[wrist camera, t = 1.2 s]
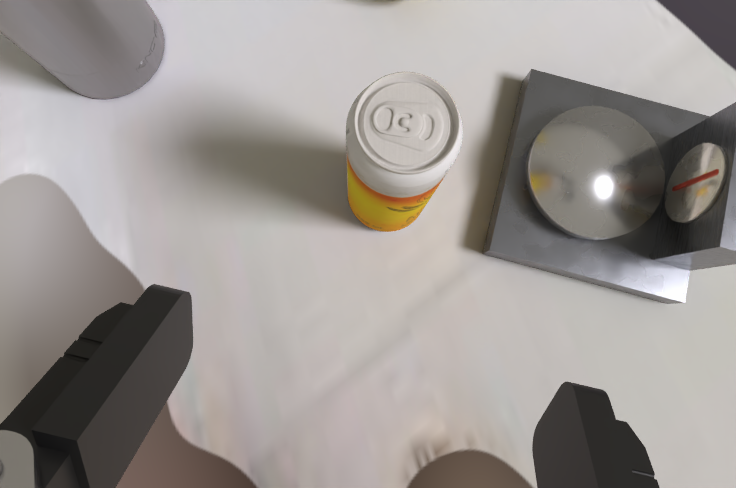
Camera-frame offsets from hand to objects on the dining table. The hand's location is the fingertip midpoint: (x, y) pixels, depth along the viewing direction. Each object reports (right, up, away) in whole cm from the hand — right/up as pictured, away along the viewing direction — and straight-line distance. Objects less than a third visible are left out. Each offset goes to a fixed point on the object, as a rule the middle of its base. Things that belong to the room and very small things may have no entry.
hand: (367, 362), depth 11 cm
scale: (+18, +7, +29) cm, 35 cm away
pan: (+17, +8, +27) cm, 32 cm away
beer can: (+1, +6, +29) cm, 30 cm away
